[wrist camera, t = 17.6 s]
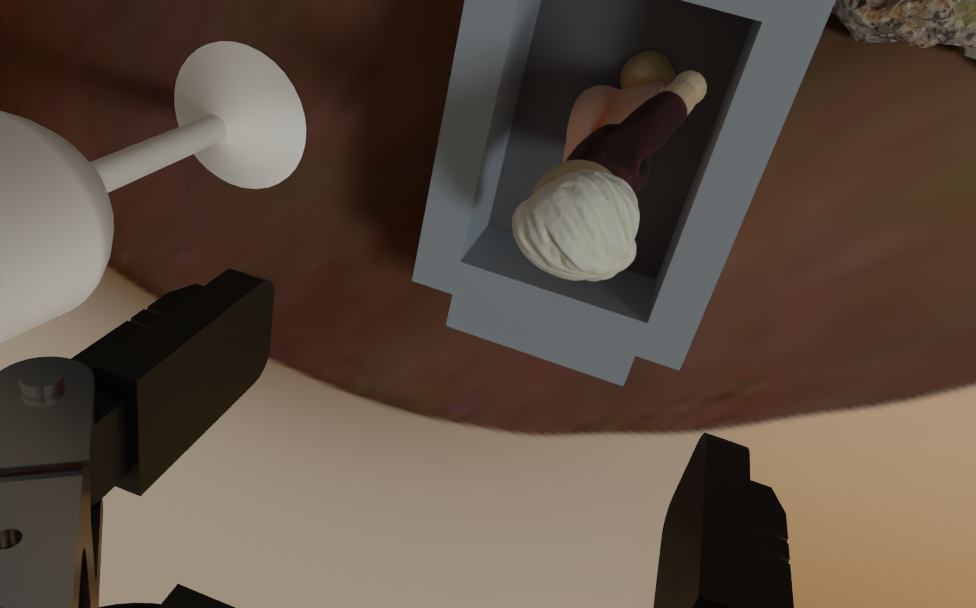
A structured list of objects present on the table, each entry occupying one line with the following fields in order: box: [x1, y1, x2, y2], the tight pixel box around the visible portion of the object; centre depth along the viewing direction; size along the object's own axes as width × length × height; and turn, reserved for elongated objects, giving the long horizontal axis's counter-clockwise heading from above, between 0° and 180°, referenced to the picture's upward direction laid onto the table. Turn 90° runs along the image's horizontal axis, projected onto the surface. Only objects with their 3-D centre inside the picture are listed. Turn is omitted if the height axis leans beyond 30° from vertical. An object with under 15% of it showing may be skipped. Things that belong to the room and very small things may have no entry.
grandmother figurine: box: [512, 50, 707, 281], centre depth 24 cm, size 8×4×13 cm, turn 153°
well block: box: [412, 0, 836, 386], centre depth 28 cm, size 11×17×4 cm, turn 168°
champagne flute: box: [0, 41, 306, 344], centre depth 24 cm, size 7×7×24 cm
